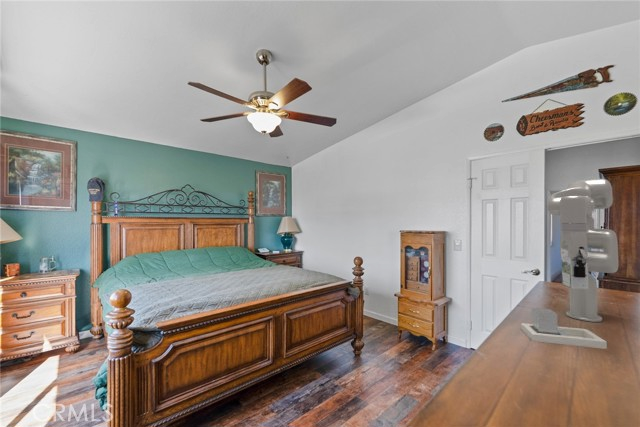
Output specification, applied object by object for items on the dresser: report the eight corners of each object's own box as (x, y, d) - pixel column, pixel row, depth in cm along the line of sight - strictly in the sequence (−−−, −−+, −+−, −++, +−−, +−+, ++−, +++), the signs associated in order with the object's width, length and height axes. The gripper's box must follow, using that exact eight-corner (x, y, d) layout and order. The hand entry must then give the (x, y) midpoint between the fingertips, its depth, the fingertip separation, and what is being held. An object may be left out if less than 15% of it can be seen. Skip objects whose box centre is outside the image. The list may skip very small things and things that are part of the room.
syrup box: (589, 289, 104) (588, 249, 105) (570, 288, 105) (569, 249, 106) (578, 285, 110) (577, 248, 110) (561, 285, 111) (560, 248, 111)
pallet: (521, 331, 118) (520, 323, 118) (586, 338, 111) (586, 329, 111) (532, 343, 106) (532, 334, 106) (606, 351, 100) (606, 341, 100)
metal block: (532, 332, 114) (532, 307, 114) (550, 334, 112) (549, 309, 112) (538, 338, 108) (538, 312, 108) (557, 340, 106) (557, 313, 107)
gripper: (551, 227, 117) (552, 271, 117) (573, 229, 101) (574, 279, 101) (573, 227, 115) (574, 272, 115) (600, 229, 99) (601, 280, 98)
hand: (574, 275), depth 108 cm, fingers closed on syrup box, 6 cm apart
